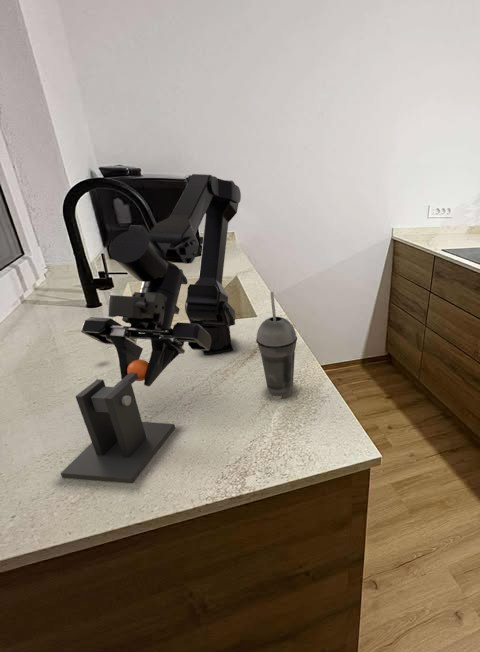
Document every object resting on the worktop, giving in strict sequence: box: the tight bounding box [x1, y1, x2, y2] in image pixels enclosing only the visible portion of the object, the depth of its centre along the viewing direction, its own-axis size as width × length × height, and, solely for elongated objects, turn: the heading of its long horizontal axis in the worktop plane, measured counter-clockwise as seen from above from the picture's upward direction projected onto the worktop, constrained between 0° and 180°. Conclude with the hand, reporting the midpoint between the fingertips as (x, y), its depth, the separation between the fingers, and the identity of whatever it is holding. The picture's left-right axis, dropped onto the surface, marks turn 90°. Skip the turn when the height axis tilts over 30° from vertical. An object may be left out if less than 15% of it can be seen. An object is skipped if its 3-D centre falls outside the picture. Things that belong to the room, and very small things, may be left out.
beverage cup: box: [255, 291, 298, 400], centre depth 70 cm, size 7×7×20 cm
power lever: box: [91, 359, 149, 413], centre depth 58 cm, size 11×3×3 cm, turn 176°
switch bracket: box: [60, 378, 176, 484], centre depth 56 cm, size 12×10×12 cm
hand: (135, 385), depth 60 cm, fingers closed on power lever, 3 cm apart
